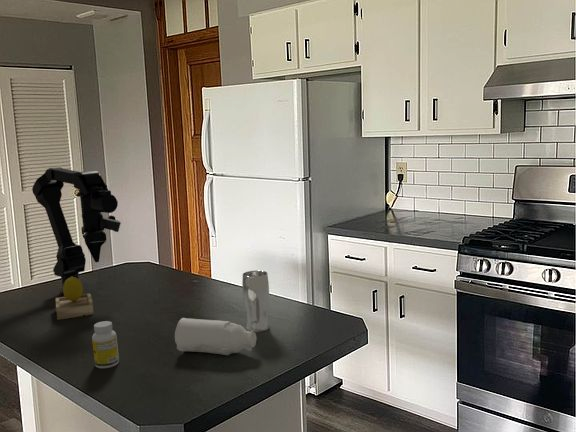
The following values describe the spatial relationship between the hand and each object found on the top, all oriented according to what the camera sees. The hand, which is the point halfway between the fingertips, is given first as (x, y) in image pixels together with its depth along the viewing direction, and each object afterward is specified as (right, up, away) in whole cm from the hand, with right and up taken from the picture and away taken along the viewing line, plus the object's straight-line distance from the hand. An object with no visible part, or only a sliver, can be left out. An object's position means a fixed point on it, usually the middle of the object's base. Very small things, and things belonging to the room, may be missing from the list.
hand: (95, 259), depth 182 cm
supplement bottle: (+20, -21, -50) cm, 58 cm away
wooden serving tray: (-3, -15, -11) cm, 19 cm away
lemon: (-3, -12, -11) cm, 17 cm away
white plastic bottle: (+44, -19, -45) cm, 66 cm away
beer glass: (+54, -16, -31) cm, 64 cm away
